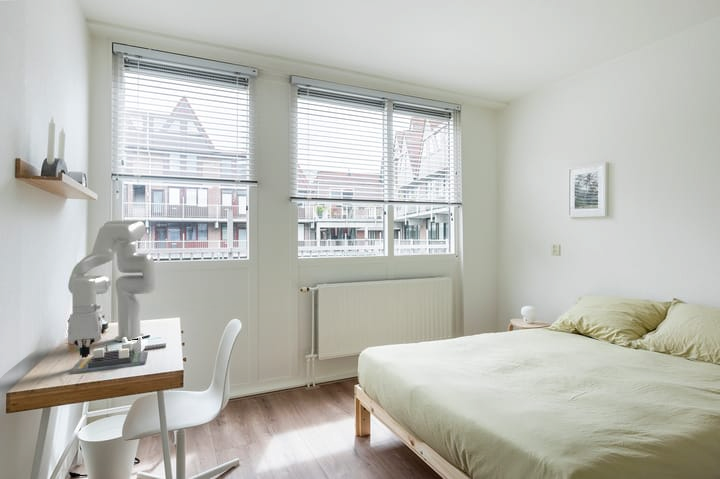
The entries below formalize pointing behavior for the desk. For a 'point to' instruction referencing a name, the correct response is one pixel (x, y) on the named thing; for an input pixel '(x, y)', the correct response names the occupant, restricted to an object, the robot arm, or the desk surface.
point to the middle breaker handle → (98, 353)
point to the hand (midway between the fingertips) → (84, 356)
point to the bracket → (136, 344)
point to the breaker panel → (110, 361)
